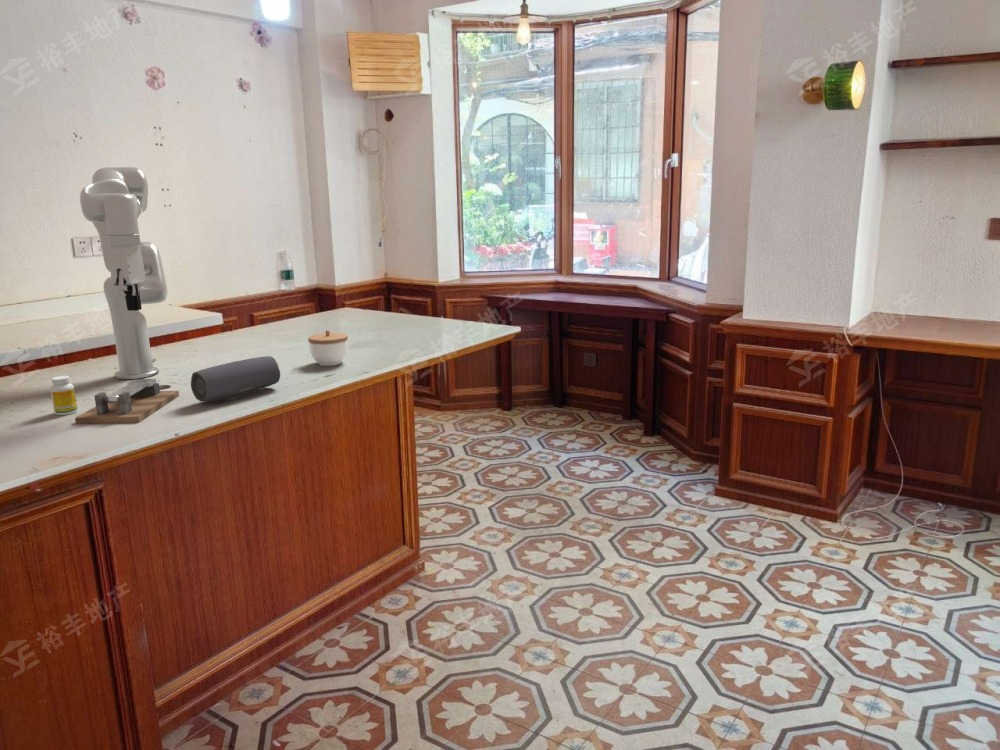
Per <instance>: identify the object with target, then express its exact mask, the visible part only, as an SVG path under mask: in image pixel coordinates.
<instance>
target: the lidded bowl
mask: <svg viewBox="0 0 1000 750" xmlns="http://www.w3.org/2000/svg"><path fill="white" fill-rule="evenodd" d="M348 338H349V336H348V335H347V334H346V333H341V332H331V331H330V330H328V329H327V330H325V333H324V332H323V333H317V334H316V333H315V334H313V335H310V336H308V338H307V340H308V344H309V345H308V346H309V347H308V348H309V351H310V352H309V353H310V354H311V356H312V357H311V358H313V360H314V361H315V362H317V363H318V366H325V367H331V366H337V365H340V364H342V361H344V359H345V358H346V357H347V353H348V349H349V348H348V344H349V343H348Z"/></svg>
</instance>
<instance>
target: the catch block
mask: <svg viewBox="0 0 1000 750" xmlns="http://www.w3.org/2000/svg"><path fill="white" fill-rule="evenodd" d="M160 391H161V388H160V383H159V382H158V383H157V382H156V383H155V384H154V385H152V386H150V387H145V388H143V389H142V390H140V391H138V392H136V393H135V394H133V395H131V396H154V395H157V394H159V393H160Z"/></svg>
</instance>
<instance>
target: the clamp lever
mask: <svg viewBox="0 0 1000 750" xmlns="http://www.w3.org/2000/svg"><path fill="white" fill-rule="evenodd" d="M155 383H157V379H156V378H138V379H131V380H130V381H128V382H126V385H124V386H123V387H121V388H119V389H117V390H115V391H114V392H112V393H110V394H108V395H106V396H105V397H104V398H103V401H104V403H114V402H119V398H118V395H119V394H121V393H123V392H129V393H130V396H131V395H133V394H135V393H136V392H138V391H140V390H142V389H143V388H145V387H150V386H152V385H154V384H155Z"/></svg>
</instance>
